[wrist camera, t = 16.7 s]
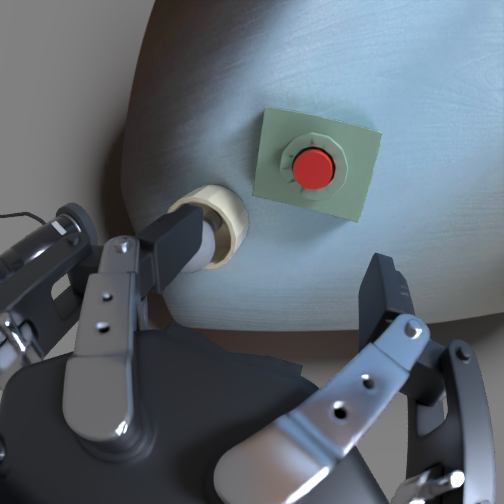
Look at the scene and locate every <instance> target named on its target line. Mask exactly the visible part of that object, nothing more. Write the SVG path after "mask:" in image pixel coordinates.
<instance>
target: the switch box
mask: <svg viewBox="0 0 504 504" xmlns="http://www.w3.org/2000/svg"><path fill="white" fill-rule="evenodd" d="M381 138H382V133H380V132H378V131H374V130H371V129H368V128H364V127H361V126H357V125H354V124H350V123H346V122H343V121H339V120H335V119H330V118H326V117H322V116H317V115H313V114H308V113H303V112H298V111H292V110H287V109H281V108H275V107H265V109H264V116H263V123H262V130H261V137H260V144H259V151H258V158H257V166H256V173H255V180H254V187H253V194H252V196H256V197H260V198H264V199H269V200H273V201H277V202H281V203H286V204H290V205H294V206H298V207H302V208H306V209H310V210H313V211H317V212H321V213H325V214H329V215H332V216H336V217H340V218H343V219H347V220H350V221H354V222H357V223H358V222H359V219H360V216H361V213H362V210H363V206H364V203H365V200H366V196H367V193H368V189H369V186H370V182H371V178H372V175H373V171H374V167H375V163H376V159H377V155H378V151H379V147H380V143H381ZM309 149H317V150H320V151H322V152H324V153H325V154H326V155H327V156H328V157H329V158H330V160H331V162H332V176H331V179H330V181H329V182H328V184H327V185H325V186H324V187H322V188H320V189H315V190H313V189H307V188H305V187H303V186H301V185H300V184H299V183H298V182H297V181H296V179H295V177H294V174H293V165H294V162H295V160H296V159H297V158H298V156H299V155H300V154H301V153H302V152H304V151H306V150H309Z"/></svg>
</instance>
